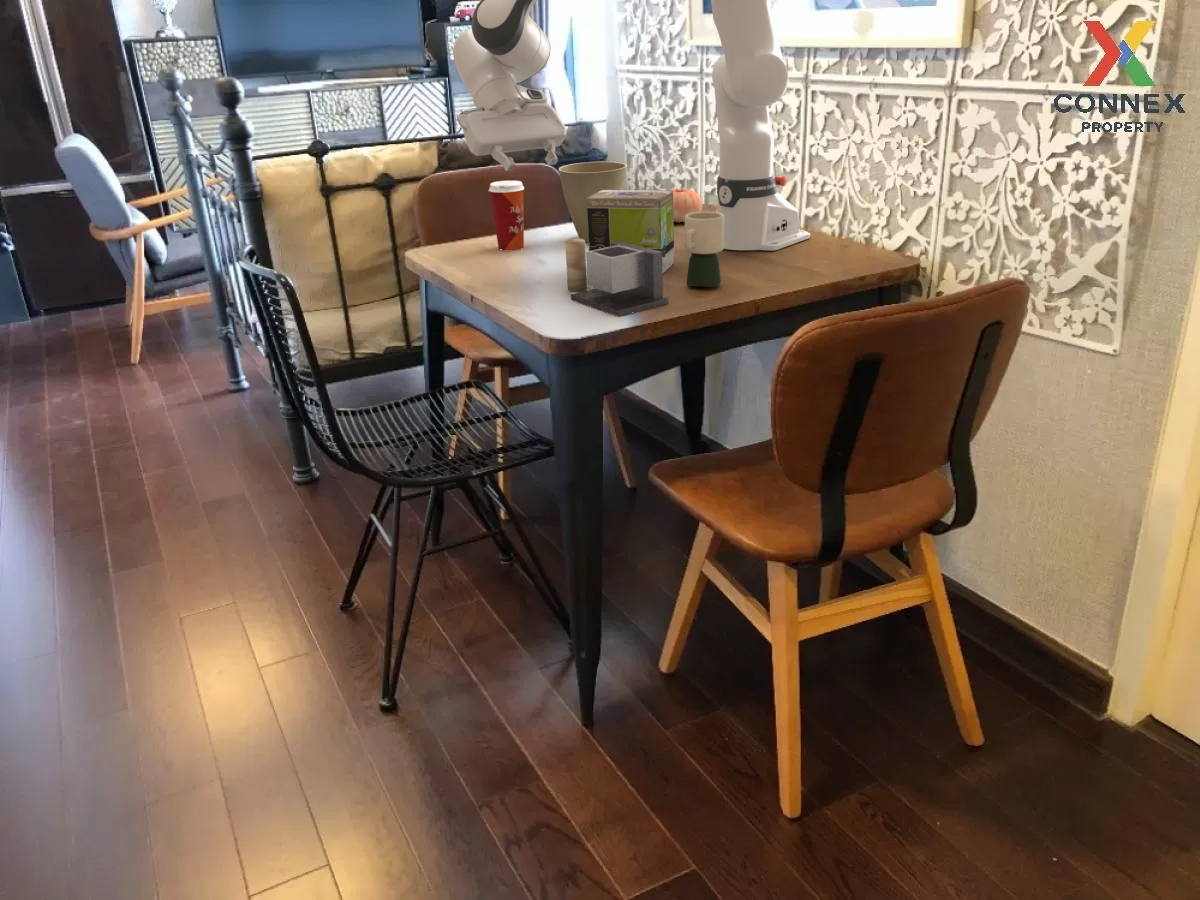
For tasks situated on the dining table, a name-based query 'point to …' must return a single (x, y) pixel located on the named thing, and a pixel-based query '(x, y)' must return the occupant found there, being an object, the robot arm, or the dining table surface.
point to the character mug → (704, 247)
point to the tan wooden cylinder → (576, 265)
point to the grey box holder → (623, 279)
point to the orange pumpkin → (685, 203)
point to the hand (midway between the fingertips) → (532, 165)
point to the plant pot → (588, 187)
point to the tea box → (633, 220)
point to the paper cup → (508, 213)
